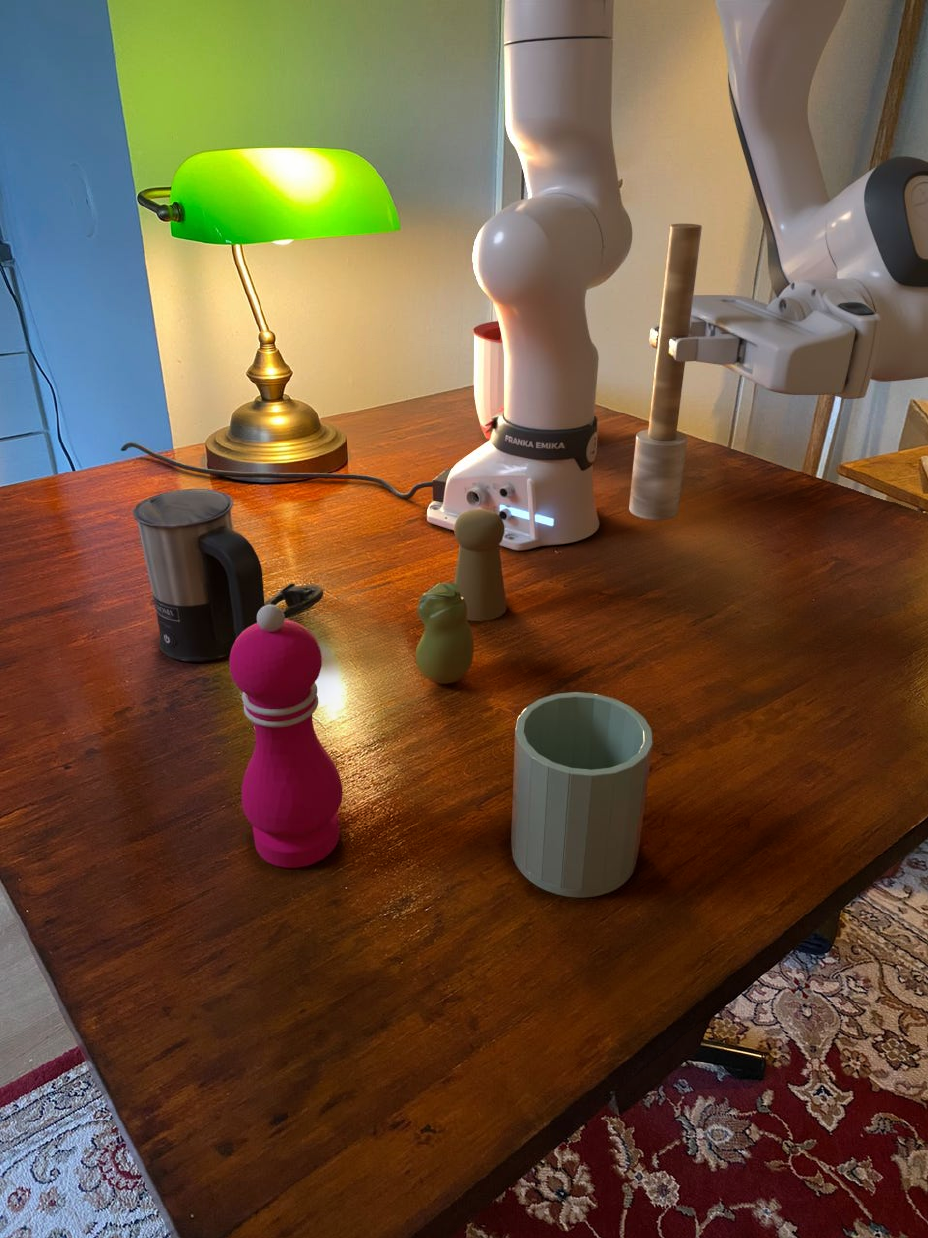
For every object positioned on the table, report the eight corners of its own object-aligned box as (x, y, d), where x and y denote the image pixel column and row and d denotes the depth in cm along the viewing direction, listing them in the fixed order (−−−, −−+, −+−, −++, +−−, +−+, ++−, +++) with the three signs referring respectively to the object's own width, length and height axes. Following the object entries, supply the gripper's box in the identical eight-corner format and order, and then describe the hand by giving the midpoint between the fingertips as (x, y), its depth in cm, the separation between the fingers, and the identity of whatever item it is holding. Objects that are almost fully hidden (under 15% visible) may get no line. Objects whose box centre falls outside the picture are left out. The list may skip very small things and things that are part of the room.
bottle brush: (622, 515, 82) (650, 226, 70) (636, 498, 85) (665, 220, 73) (670, 523, 80) (708, 230, 68) (683, 506, 83) (720, 223, 71)
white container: (593, 433, 149) (603, 307, 139) (525, 460, 138) (530, 325, 128) (521, 413, 158) (525, 293, 148) (452, 437, 148) (451, 309, 138)
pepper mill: (254, 808, 71) (220, 582, 61) (347, 803, 71) (328, 578, 61) (243, 877, 65) (202, 638, 55) (344, 871, 65) (323, 632, 55)
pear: (451, 701, 83) (451, 606, 78) (404, 684, 86) (401, 591, 81) (483, 672, 88) (484, 581, 83) (437, 657, 90) (435, 567, 85)
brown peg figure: (513, 599, 100) (516, 506, 95) (496, 625, 95) (498, 529, 90) (461, 590, 102) (461, 499, 97) (443, 615, 97) (441, 521, 92)
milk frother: (138, 652, 91) (110, 516, 83) (229, 584, 103) (211, 460, 96) (261, 682, 86) (242, 540, 79) (340, 606, 99) (330, 478, 91)
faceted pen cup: (491, 871, 65) (493, 750, 60) (539, 794, 72) (545, 679, 67) (614, 915, 62) (628, 791, 56) (651, 830, 69) (668, 712, 63)
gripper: (756, 274, 85) (618, 280, 82) (896, 321, 68) (727, 331, 65) (745, 343, 88) (612, 351, 85) (876, 404, 71) (714, 417, 68)
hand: (662, 343), depth 75 cm, fingers closed on bottle brush, 2 cm apart
